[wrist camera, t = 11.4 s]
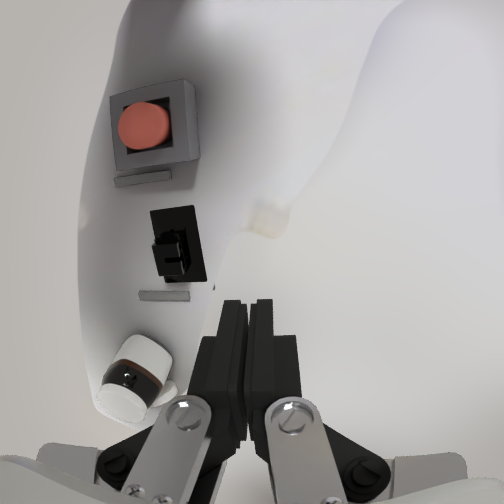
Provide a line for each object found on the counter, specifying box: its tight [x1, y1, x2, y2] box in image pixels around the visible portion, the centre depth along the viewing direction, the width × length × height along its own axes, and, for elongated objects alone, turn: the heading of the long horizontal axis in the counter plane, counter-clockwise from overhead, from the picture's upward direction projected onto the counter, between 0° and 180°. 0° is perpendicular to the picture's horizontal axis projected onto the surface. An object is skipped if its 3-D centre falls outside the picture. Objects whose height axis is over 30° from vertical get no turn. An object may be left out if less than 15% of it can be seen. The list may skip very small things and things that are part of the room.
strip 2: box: [138, 291, 190, 300], centre depth 35 cm, size 1×7×1 cm, turn 94°
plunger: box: [118, 102, 172, 149], centre depth 24 cm, size 4×4×4 cm
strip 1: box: [114, 170, 171, 187], centre depth 30 cm, size 1×7×1 cm, turn 93°
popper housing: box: [110, 79, 200, 171], centre depth 26 cm, size 8×8×4 cm
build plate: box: [150, 205, 215, 290], centre depth 32 cm, size 12×7×5 cm, turn 6°
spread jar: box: [97, 333, 178, 423], centre depth 36 cm, size 12×11×12 cm
